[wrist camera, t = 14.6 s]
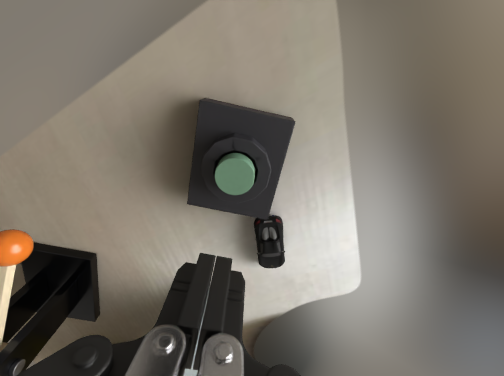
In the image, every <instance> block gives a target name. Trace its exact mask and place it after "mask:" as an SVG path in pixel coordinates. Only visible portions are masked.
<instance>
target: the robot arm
mask: <svg viewBox="0 0 504 376" xmlns="http://www.w3.org/2000/svg"><path fill="white" fill-rule="evenodd" d="M215 257H216V256H214V255H209V254H204V253H200V255H199V258H198V261H197V264H192V263H187V262H186V263H185V264H184V265H183V266H182V267H180V268H179V269H178V271H177V273H176V276H175V278H174V281H173V283H172V286H171V288H170V290H169V293H168V295H167V298H166V300H165V303H164V305H163V308H162V310H161V312H160V315H159V317H158V320H157V322H156V324H155V326H154V327H153V328H152V330H151V331H150V332H148V333H147V334H146V335H144V336H143V337H141V338H139V339H137V340H134V341H130V342H124V343H118V344H111V342H110V340H109V339H108V338H106V337H104V336H101V335H89V336H85V337H83V338H80V339H78V340H76V341H75V342H73V343H71V344H69V345H68V346H66V347H64V348H62V349H61V350H59V351H57V352H56V353H54V354H52V355H50V356H49V357H47V358H45V359H44V360H42V361H40V362H38V363H37V364H35V365H33V366H31V367H30V368H28V369H26V370H25V371H23V372H21V373H19V374H18V375H16V376H184V371H185V369H191V366H192V362H193V358H194V353H195V349H196V344H197V340H198V336H199V340H198V345H197V350H196V355H195V360H194V365H193V370H198V372H197V376H300V375H299V373H298V372H297V371H295V370H294V369H293V368H291V367H289V366H286V365H276V366H274V367H272V368H269V367H267V366H265V365H263V364H261V363H260V362H258V361H256V360H255V359H253V358H252V357H251V356H250V355H249V354H248V352H247V351H246V349H245V347H244V345H243V341H242V328H243V311H244V292H245V280H244V278H243V275H242V273H241V272H237V271H231V264H232V259H231V258H226V257H220V256H217V258H216V263H215V267H214V262H215ZM213 267H214V271H213ZM212 272H213V276H212ZM211 277H212V280H211ZM210 282H211V285H210ZM209 287H210V289H209ZM208 291H209V294H208ZM207 296H208V298H207ZM206 300H207V303H206ZM205 305H206V307H205ZM204 309H205V312H204ZM203 314H204V316H203ZM202 318H203V321H202ZM201 322H202V325H201ZM200 327H201V330H200ZM199 331H200V335H199Z"/></svg>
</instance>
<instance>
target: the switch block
mask: <svg viewBox="0 0 504 376" xmlns="http://www.w3.org/2000/svg"><path fill="white" fill-rule="evenodd" d="M294 125H295V121H294V120H293V118H291V117H286V116H282V115H277V114H273V113H269V112H264V111H260V110H256V109H251V108H247V107H243V106H238V105H234V104H230V103H225V102H221V101H217V100H212V99H208V98H203V99H201V100H200V102H199V110H198V119H197V127H196V135H195V143H194V152H193V160H192V168H191V177H190V185H189V193H188V201H187V204H189V205H194V206H199V207H205V208H210V209H215V210H220V211H225V212H230V213H235V214H240V215H245V216H250V217H255V218H260V219H265V220H267V219H268V216H269V212H270V209H271V205H272V202H273V198H274V195H275V191H276V188H277V184H278V181H279V177H280V174H281V170H282V167H283V163H284V160H285V156H286V153H287V149H288V146H289V142H290V139H291V135H292V132H293V128H294ZM230 153H241V154H244V155H246V156H247V157H248V158H249V159H250V160H251V161H252V163H253V165H254V168H255V179H254V183H253V185H252V187H251V188H250V189H249V190H248V191H247V192H245V193H243V194H240V195H230V194H227V193H225V192H223V191H222V190H221V189H220V188H219V187H218V185H217V184H216V181H215V170H216V168H217V166H218V163H219V162H220V160H221V159H222V158H223V157H224V156H225V155H227V154H230Z"/></svg>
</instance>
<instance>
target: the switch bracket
mask: <svg viewBox="0 0 504 376" xmlns="http://www.w3.org/2000/svg"><path fill="white" fill-rule="evenodd" d="M33 243H34V242H33ZM21 264H22V268H23V273H24V277H25V282H26V284H25V285H24V286H23V287H22V288H21V289H20V290H18V291H17V292H16V293H15V294H14V295H13V296H12V297H11V298H10V301H9V307H8V312H7V318H6V323H5V329H4V334H3V340H2V342H5V343H7V342H8V341H9V340H10V339H11V338H12V337H13V336H14V335H15V334H16V333H17V332H18V331H19V329H20V328H21V327H22V326H23V325H24V324H25V323H26V322H27V321H28V320H29V319H30V318H31V317H32V316H33V315H34V314H35V312H37V313H36V314H35V315H34V317H33V318H32V319H31V320H30V321H29V322H28V323H27V324H26V325H25V326H24V327H23V328H22V329H21V330H20V332H19V333H18V334H17V335H16V336H15V337H14V338H13V339H12V340H11V341H10V342H9V343H8V344H7V345H6V347H5V348H4V349H3V350H2V351H1V352H0V376H16V375H18V374H19V373H21V372H23V371H25V370H26V368H27V367H28V366H29V364H30V363H31V362H32V361H33V360H34V358H35V357H36V356H37V355H38V353H39V352H40V351H41V349H42V348H43V347H44V346H45V344H46V343H47V342H48V341H49V339H50V338H51V337H52V336H53V334H54V333H55V332H56V330H57V329H58V328H59V327H60V325H61V324H62V323H63V322H64V320H65V319H66V318H67V317H68V318H75V319H81V320H87V321H93V322H95V321H96V320H97V318H98V317H99V315H100V306H99V290H98V274H97V257H96V254H95V253H90V252H84V251H79V250H73V249H67V248H62V247H56V246H51V245H45V244H39V243H34V247H33V250H32V253H31V254H30V255H29V257H28V258H27V259H25V260H24V261H23V262H21Z"/></svg>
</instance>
